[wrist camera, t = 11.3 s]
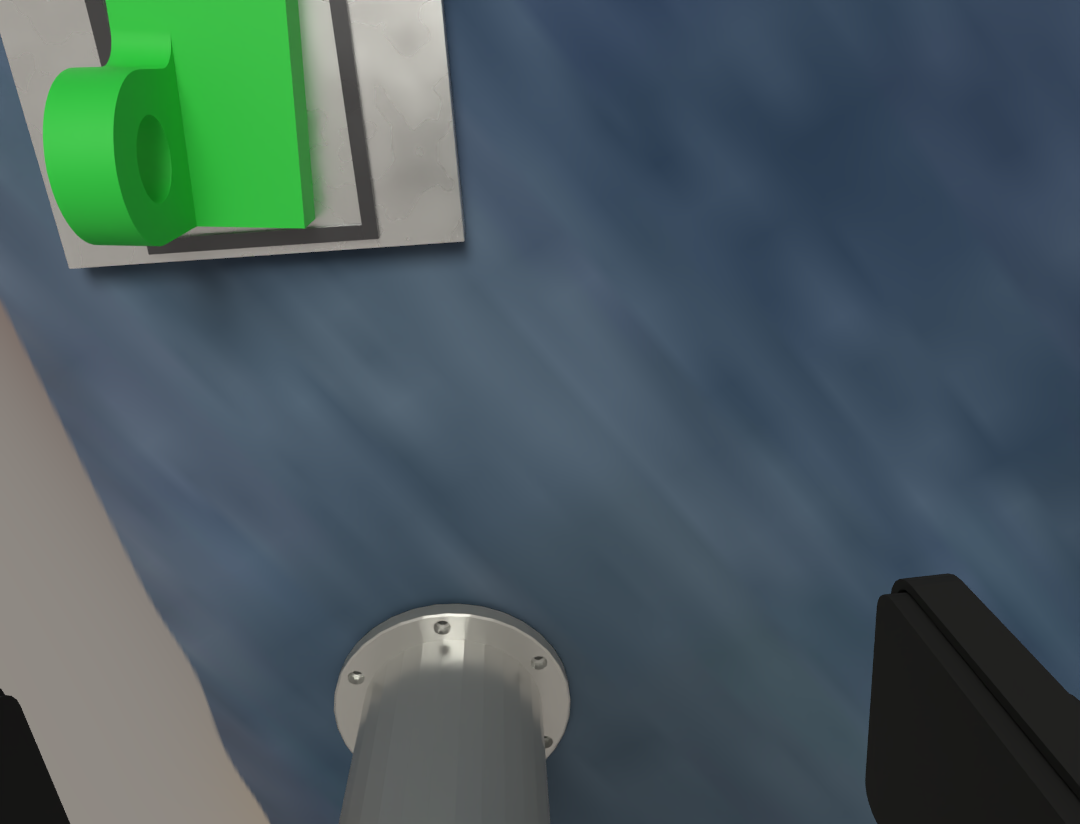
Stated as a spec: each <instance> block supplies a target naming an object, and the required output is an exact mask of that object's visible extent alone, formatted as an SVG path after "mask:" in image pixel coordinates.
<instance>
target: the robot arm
mask: <svg viewBox="0 0 1080 824" xmlns="http://www.w3.org/2000/svg"><path fill="white" fill-rule="evenodd" d="M334 713H335V718H336V723H337V728H338V730H339V732H340V734H341V736H342V738H343V740H344V743H345V744H346V746H347V747H348V748H349V750H350V751H351V752H352V753H353V757H352V761H351V766H350V771H349V776H348V781H347V786H346V791H345V796H344V801H343V806H342V811H341V815H340V820H339V824H550V811H549V797H548V784H547V770H546V759H547V758H548V756H549V755H550V754H551V753H552V752H553V751H554V750H555V748H556V747H557V745H558V743H559V742H560V740H561V738H562V736H563V735H564V732H565V729H566V726H567V723H568V720H569V714H570V692H569V684H568V679H567V676H566V672H565V669H564V666H563V663H562V662H561V660H560V658H559V657H558V655H557V653H556V651H555V650H554V648H553V647H552V646H551V645H550V644H549V643H548V642H547V641H546V640H545V638H544V637H543V636H542V635H541V634H540V633H538V632H537V631H536V630H534V629H533V628H531V627H530V626H529V625H527V624H526V623H524V622H523V621H521V620H519V619H517V618H514V617H512V616H510V615H508V614H506V613H504V612H500V611H497V610H493V609H490V608H486V607H483V606H475V605H467V604H437V605H431V606H426V607H421V608H416V609H412V610H409V611H407V612H404V613H401V614H399V615H396V616H393V617H391V618H390V619H388V620H386V621H384V622H383V623H381V624H379V625H378V626H376V627H374V628H373V629H372V630H371V631H370V632H368V633H367V634H366V635H365V636H364V637H363V638H362V639H361V640H359V641H358V643H357V644H356V645H355V647H354V648H353V649H352V651H351V652H350V653H349V655H348V656H347V658H346V660H345V662H344V664H343V667H342V669H341V671H340V674H339V678H338V682H337V686H336V690H335V698H334ZM865 781H866V792H867V797H868V801H869V805H870V808H871V811H872V813H873V815H874V817H875V820H876V822H877V823H878V824H1080V701H1079V700H1078V699H1077V698H1076V697H1074V696H1073V695H1071V694H1069V693H1068V692H1067V691H1066V690H1065V689H1064V688H1063V687H1062V686H1061V685H1060V684H1059V682H1058V681H1057V680H1056V679H1055V678H1054V677H1053V676H1052V675H1051V674H1050V673H1049V672H1048V671H1047V670H1046V669H1045V668H1044V667H1043V666H1042V665H1041V664H1040V662H1039V661H1038V660H1037V659H1036V658H1035V657H1034V656H1033V655H1032V654H1031V653H1030V652H1029V651H1028V650H1027V649H1026V648H1025V647H1024V646H1023V645H1022V644H1021V643H1020V641H1019V640H1018V639H1017V638H1016V637H1015V636H1014V635H1013V634H1012V633H1011V632H1010V631H1009V630H1008V629H1007V628H1006V627H1005V626H1004V625H1003V624H1002V623H1001V621H1000V620H999V619H998V618H997V617H996V616H995V615H994V614H993V613H992V612H991V611H990V610H989V609H988V608H987V607H986V606H985V605H984V604H983V603H982V601H981V600H980V599H979V598H978V597H977V596H976V595H975V594H974V593H973V592H972V591H971V590H970V589H969V588H968V587H967V586H966V585H965V584H964V583H963V581H962V580H960V579H959V578H958V577H957V576H955V575H953V574H940V575H931V576H922V577H913V578H905V579H899V580H897V581H895V583H894V585H893V587H892V591H891V594H885V595H882V596H880V598H879V600H878V604H877V613H876V628H875V643H874V658H873V673H872V688H871V703H870V718H869V733H868V748H867V763H866V778H865ZM0 824H70V822H69V820H68V818H67V815H66V813H65V810H64V808H63V806H62V803H61V801H60V799H59V796H58V794H57V791H56V789H55V787H54V784H53V782H52V780H51V777H50V775H49V772H48V770H47V768H46V765H45V763H44V761H43V759H42V756H41V754H40V751H39V749H38V746H37V744H36V742H35V739H34V737H33V735H32V732H31V730H30V728H29V725H28V723H27V720H26V718H25V716H24V713H23V711H22V708H21V706H20V704H19V703H18V701H17V700H16V699H15V698H14V697H12V696H7V695H5V694H4V693H3V691H2V690H1V689H0Z"/></svg>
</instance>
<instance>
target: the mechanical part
mask: <svg viewBox="0 0 1080 824" xmlns="http://www.w3.org/2000/svg"><path fill="white" fill-rule="evenodd" d="M106 6H107V12H108V18H109V24H110V31H111V54H110V58H109V60H108V62H107V64H106V65H105V66H103V67H75V68H68V69H65V70H64V71H62V72H61V73H60V74H59V75H58V76H57V77H56V78H55V80H54V81H53V83H52V85H51V87H50V90H49V93H48V96H47V100H46V104H45V109H44V118H43V148H44V157H45V164H46V170H47V174H48V178H49V182H50V185H51V189H52V192H53V195H54V197H55V200H56V202H57V205H58V207H59V209H60V211H61V213H62V215H63V217H64V219H65V220H66V222H67V223H68V225H69V226H70V228H71V229H72V230H73V231H74V232H75V234H76V235H77V236H78V237H80V238H81V239H82V240H84V241H85V242H87V243H89V244H92V245H112V246H163V245H165V244H167V243H169V242H171V241H172V240H174V239H176V238H178V237H179V236H181V235H183V234H185V233H186V232H188V231H190V230H192V229H193V228H195V227H250V228H303V229H305V228H306V227H307V226H308V225H309V224H310V223H311V222H313V221H314V220H315V209H314V196H313V184H312V171H311V159H310V146H309V133H308V121H307V108H306V96H305V83H304V71H303V58H302V46H301V33H300V21H299V8H298V0H106Z"/></svg>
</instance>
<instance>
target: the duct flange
mask: <svg viewBox="0 0 1080 824" xmlns="http://www.w3.org/2000/svg"><path fill="white" fill-rule="evenodd" d="M298 8H299V21H300V33H301V46H302V58H303V71H304V83H305V96H306V108H307V121H308V133H309V146H310V159H311V171H312V184H313V196H314V209H315V220H314V221H313V222H311V223H310V224H309V225H308V226H307V227H306V228H305V229H303V228H250V227H195V228H193V229H192V230H190V231H188V232H186V233H185V234H183V235H181V236H179V237H178V238H176V239H174V240H172V241H171V242H169V243H167V244H165V245H163V246H112V245H92V244H89V243H87V242H85V241H84V240H82V239H81V238H80V237H78V236H77V235H76V234H75V232H74V231H73V230H72V229H71V228H70V226H69V225H68V223H67V222H66V220H65V219H64V217H63V215H62V213H61V211H60V209H59V207H58V205H57V202H56V200H55V197H54V195H53V192H52V189H51V185H50V182H49V178H48V174H47V170H46V164H45V157H44V148H43V118H44V109H45V104H46V100H47V96H48V93H49V90H50V87H51V85H52V83H53V81H54V80H55V78H56V77H57V76H58V75H59V74H60V73H61V72H62V71H64V70H65V69H68V68H75V67H103V66H105V65H106V64H107V62H108V60H109V58H110V54H111V31H110V24H109V18H108V12H107V6H106V0H0V34H1V37H2V40H3V44H4V47H5V51H6V54H7V58H8V61H9V64H10V68H11V71H12V75H13V78H14V81H15V85H16V88H17V92H18V95H19V98H20V102H21V105H22V109H23V112H24V115H25V119H26V122H27V126H28V129H29V132H30V136H31V139H32V143H33V146H34V150H35V153H36V156H37V160H38V163H39V167H40V170H41V173H42V177H43V180H44V184H45V187H46V190H47V194H48V197H49V201H50V204H51V207H52V211H53V214H54V218H55V221H56V224H57V228H58V231H59V235H60V238H61V242H62V245H63V248H64V252H65V255H66V259H67V262H68V265H69V269H73V268H88V267H102V266H116V265H131V264H145V263H160V262H174V261H189V260H203V259H218V258H232V257H247V256H261V255H275V254H290V253H304V252H319V251H333V250H348V249H362V248H377V247H391V246H406V245H420V244H434V243H449V242H463V241H464V240H465V224H464V214H463V203H462V193H461V182H460V171H459V161H458V150H457V140H456V129H455V119H454V108H453V98H452V87H451V77H450V66H449V56H448V45H447V35H446V24H445V14H444V3H443V0H298Z"/></svg>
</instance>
